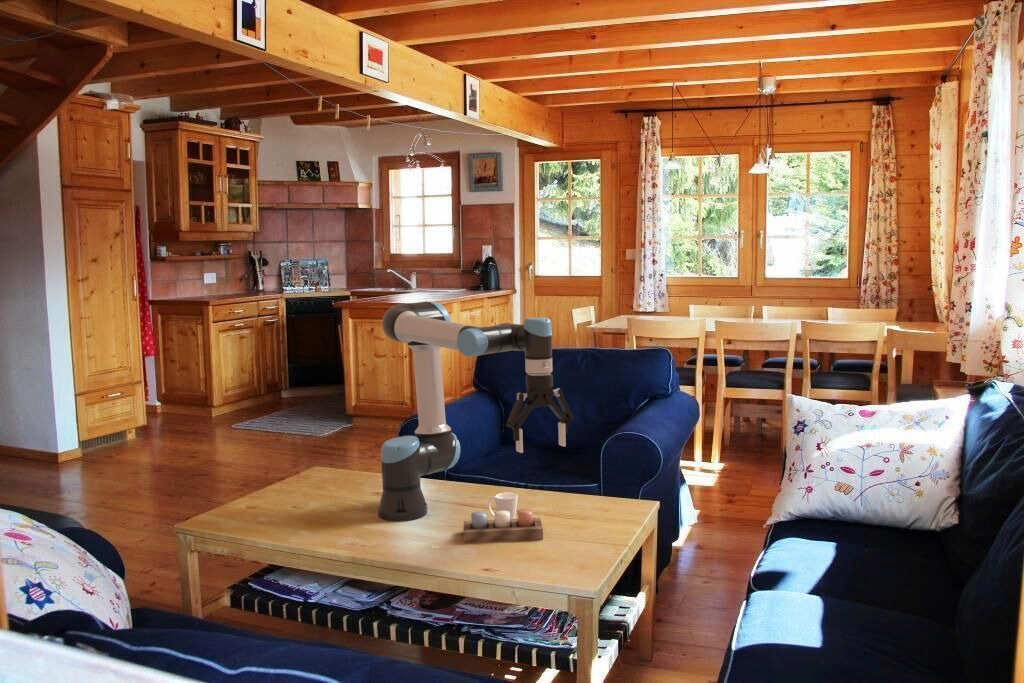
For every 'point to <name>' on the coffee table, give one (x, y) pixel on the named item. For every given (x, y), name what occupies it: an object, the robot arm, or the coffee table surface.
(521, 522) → the pink egg
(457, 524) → the coffee table surface
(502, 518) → the cream rounded knob
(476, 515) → the blue egg
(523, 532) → the brown compartment tray
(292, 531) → the coffee table surface
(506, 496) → the cup
